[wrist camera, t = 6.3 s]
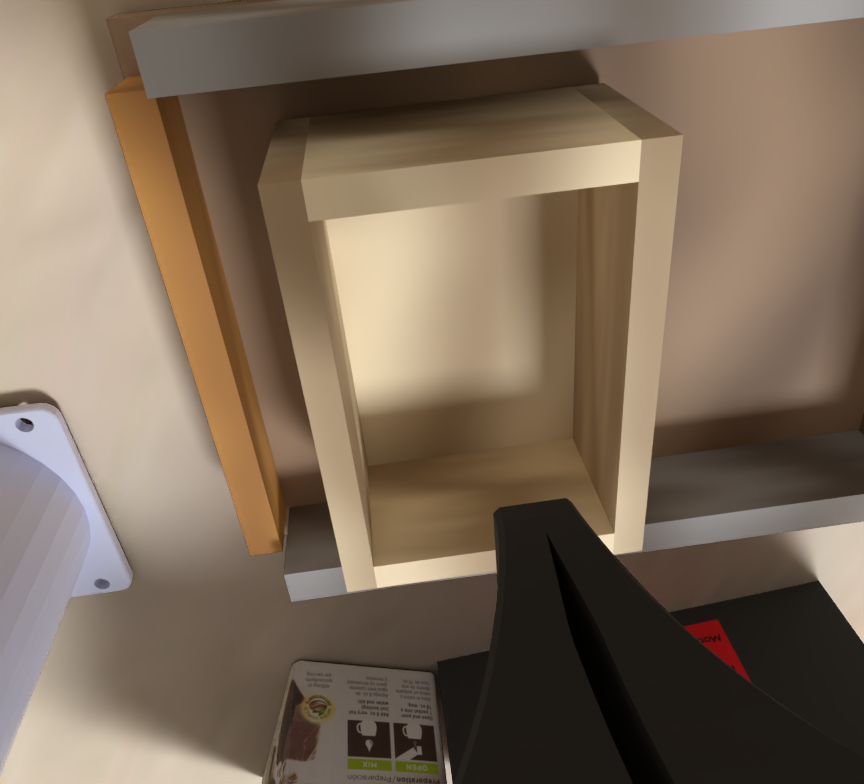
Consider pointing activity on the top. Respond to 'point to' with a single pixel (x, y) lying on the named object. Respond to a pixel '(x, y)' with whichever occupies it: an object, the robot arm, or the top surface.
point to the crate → (475, 315)
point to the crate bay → (514, 73)
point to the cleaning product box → (735, 662)
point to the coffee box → (357, 727)
